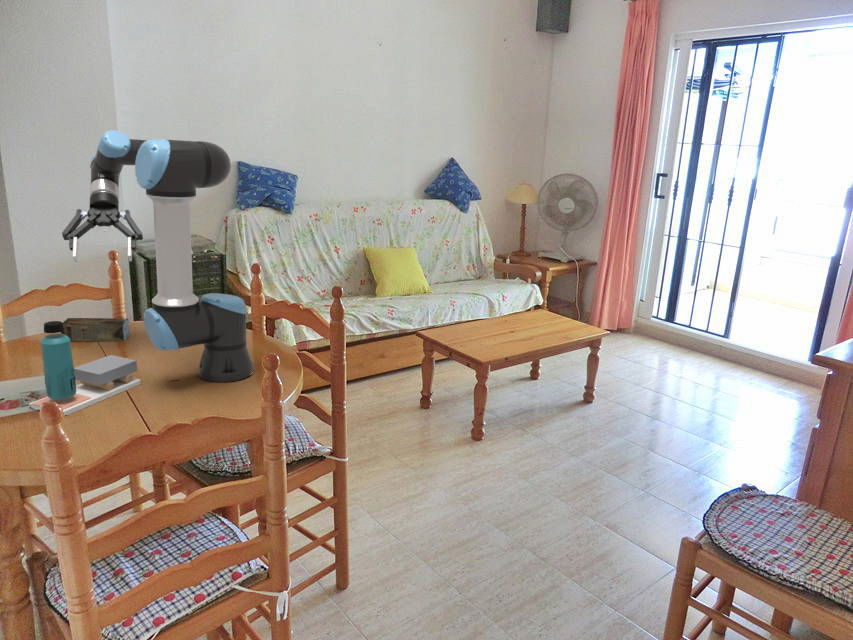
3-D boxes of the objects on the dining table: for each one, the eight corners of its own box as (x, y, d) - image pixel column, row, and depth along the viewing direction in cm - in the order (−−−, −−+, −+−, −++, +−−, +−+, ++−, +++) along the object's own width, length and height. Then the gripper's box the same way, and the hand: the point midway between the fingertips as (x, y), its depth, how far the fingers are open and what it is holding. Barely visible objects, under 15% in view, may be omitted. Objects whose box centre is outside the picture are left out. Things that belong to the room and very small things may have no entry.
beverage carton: (124, 342, 200) (123, 322, 198) (60, 343, 196) (57, 323, 194) (130, 334, 208) (129, 316, 206) (68, 335, 204) (66, 316, 202)
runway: (141, 383, 167) (140, 371, 166) (62, 417, 146) (60, 403, 145) (110, 376, 171) (109, 364, 170) (29, 408, 149) (27, 394, 148)
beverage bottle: (75, 403, 149) (67, 325, 144) (44, 406, 147) (34, 326, 142) (79, 393, 155) (71, 317, 150) (49, 396, 153) (40, 319, 147)
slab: (137, 370, 167) (136, 360, 166) (100, 385, 156) (99, 374, 155) (111, 365, 170) (111, 355, 169) (73, 379, 159) (72, 368, 158)
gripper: (151, 207, 187) (152, 265, 178) (58, 206, 179) (54, 267, 169) (149, 191, 181) (150, 250, 172) (52, 189, 172) (48, 251, 163)
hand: (102, 259), depth 171 cm, fingers open, 13 cm apart
